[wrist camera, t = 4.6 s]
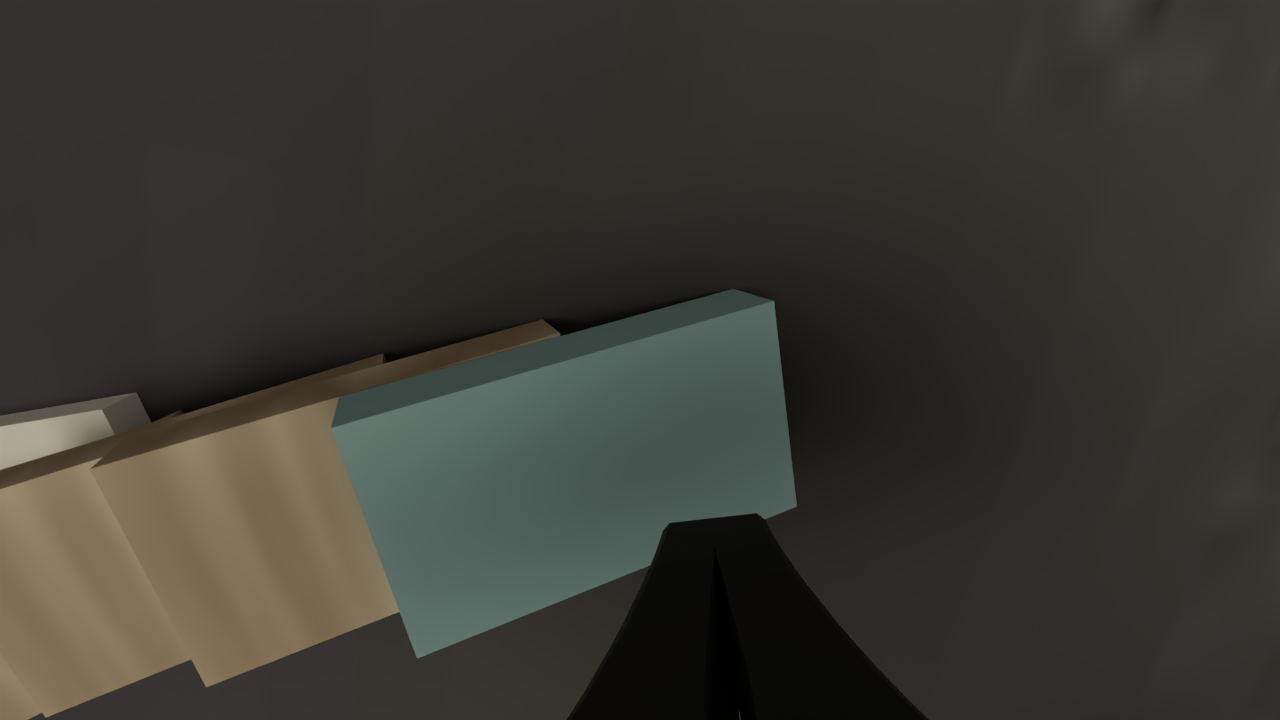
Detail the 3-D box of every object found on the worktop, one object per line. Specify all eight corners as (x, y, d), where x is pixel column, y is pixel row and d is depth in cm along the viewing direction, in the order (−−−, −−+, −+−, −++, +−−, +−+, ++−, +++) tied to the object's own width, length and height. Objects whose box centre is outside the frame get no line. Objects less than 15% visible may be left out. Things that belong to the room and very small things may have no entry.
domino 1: (101, 409, 14) (-196, 460, 15) (187, 575, 16) (-87, 612, 17) (156, 382, 16) (-117, 430, 17) (230, 536, 17) (-24, 572, 18)
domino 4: (774, 300, 12) (330, 428, 10) (797, 506, 14) (416, 658, 11) (733, 289, 13) (338, 397, 11) (757, 476, 15) (414, 604, 13)
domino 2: (381, 370, 13) (-95, 519, 11) (452, 553, 14) (45, 717, 12) (383, 353, 14) (-37, 480, 12) (447, 521, 16) (83, 663, 14)
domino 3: (559, 332, 12) (89, 469, 10) (609, 529, 14) (206, 687, 12) (542, 319, 14) (128, 435, 12) (588, 498, 15) (227, 632, 13)
